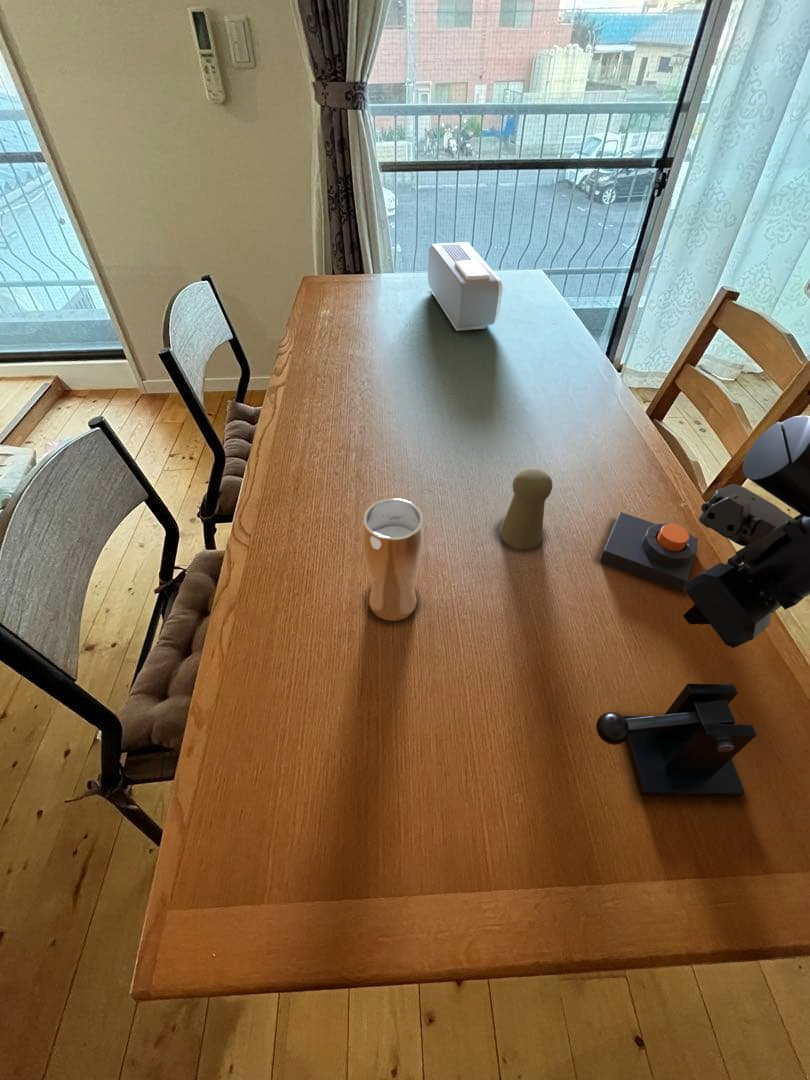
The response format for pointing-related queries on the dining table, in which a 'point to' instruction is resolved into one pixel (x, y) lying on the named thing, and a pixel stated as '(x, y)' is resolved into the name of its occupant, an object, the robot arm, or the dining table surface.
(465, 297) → the alarm clock
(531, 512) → the olive game pawn
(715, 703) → the switch
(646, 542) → the button box
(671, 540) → the button
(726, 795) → the switch bracket
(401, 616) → the beer glass
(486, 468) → the dining table surface
